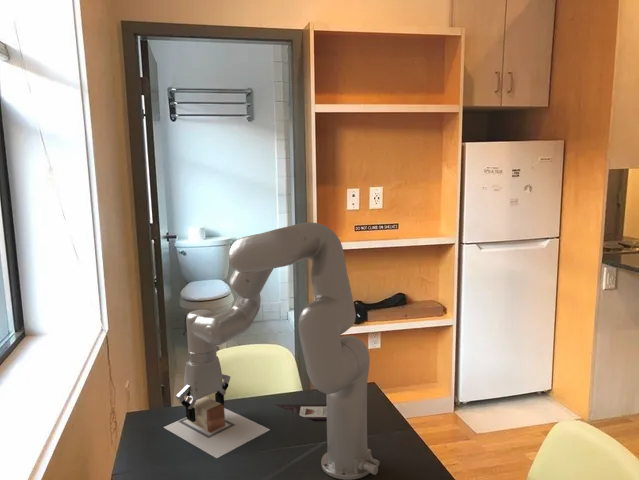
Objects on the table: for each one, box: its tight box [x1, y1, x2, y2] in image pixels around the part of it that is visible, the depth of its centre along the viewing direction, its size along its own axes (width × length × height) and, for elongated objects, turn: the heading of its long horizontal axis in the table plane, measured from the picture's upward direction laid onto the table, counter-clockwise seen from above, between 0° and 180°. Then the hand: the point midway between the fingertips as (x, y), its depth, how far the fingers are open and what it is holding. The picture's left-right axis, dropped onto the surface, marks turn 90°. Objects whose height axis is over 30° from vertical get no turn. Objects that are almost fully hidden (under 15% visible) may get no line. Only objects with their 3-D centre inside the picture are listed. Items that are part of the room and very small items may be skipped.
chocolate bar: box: [275, 404, 327, 422], centre depth 152 cm, size 9×1×18 cm
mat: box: [163, 407, 271, 459], centre depth 143 cm, size 24×18×1 cm
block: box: [189, 396, 225, 433], centre depth 145 cm, size 10×5×6 cm, turn 49°
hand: (205, 413), depth 146 cm, fingers open, 9 cm apart
